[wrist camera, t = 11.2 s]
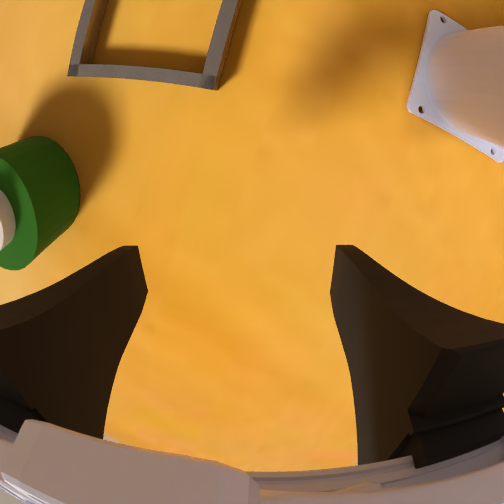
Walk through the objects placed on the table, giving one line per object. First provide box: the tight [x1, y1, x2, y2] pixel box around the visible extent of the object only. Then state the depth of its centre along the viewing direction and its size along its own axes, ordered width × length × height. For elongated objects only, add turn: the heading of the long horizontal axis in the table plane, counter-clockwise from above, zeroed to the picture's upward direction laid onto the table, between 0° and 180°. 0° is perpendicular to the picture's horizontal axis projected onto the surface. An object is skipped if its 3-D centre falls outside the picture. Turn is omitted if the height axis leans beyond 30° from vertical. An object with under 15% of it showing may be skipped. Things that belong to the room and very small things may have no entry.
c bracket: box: [68, 0, 242, 90], centre depth 13 cm, size 10×10×2 cm
